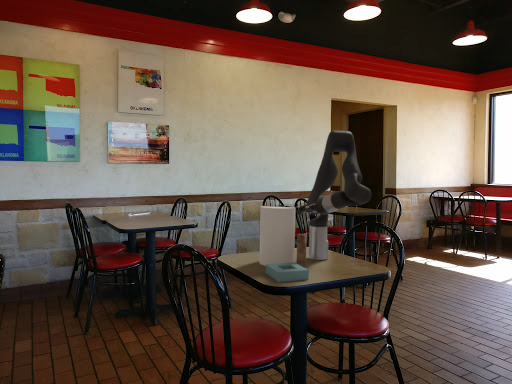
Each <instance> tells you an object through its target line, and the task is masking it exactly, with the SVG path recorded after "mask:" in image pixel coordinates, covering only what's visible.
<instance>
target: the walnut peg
mask: <svg viewBox="0 0 512 384" xmlns="http://www.w3.org/2000/svg"><path fill="white" fill-rule="evenodd" d="M296 235H297V236H296V264H298V265H300V266H302V267H304V268H306V269H307V240H308V239H307V238H308V237H307V233H297V234H296Z"/></svg>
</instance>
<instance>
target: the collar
mask: <svg viewBox="0 0 512 384" xmlns="http://www.w3.org/2000/svg"><path fill="white" fill-rule="evenodd" d="M309 272H310V270H309V268H307V267H306V268H304V267H302V266H300V265H298V264H297V262H294V263H281V264H266V266H265V274H266V275H267V276H269V277H270V278H272V279H273V280H275V281H276V282H278V283H280V282H293V281H304V280H306V281H307V280H310V279H309V278H310V276H309V274H310V273H309Z"/></svg>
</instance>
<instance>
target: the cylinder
mask: <svg viewBox="0 0 512 384" xmlns="http://www.w3.org/2000/svg"><path fill="white" fill-rule="evenodd" d="M259 209H260V211H259V212H260V213H259V216H260V218H259V257H258V258H259V259H258V260H259V261H258V263H259V265H262V266H265V267H266V264H281V263H295V246H296V245H295V243H296V242H295V241H296V240H295V239H296V238H295V237H296V207H295V206H294V207H290V206H289V207H288V206H287V207H286V206H266V205H265V206H264V205H261V206H260V207H259Z"/></svg>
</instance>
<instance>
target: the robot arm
mask: <svg viewBox="0 0 512 384" xmlns="http://www.w3.org/2000/svg"><path fill="white" fill-rule="evenodd" d="M355 143H356V142H355V137H354V135H353V133H352V132H351V131H348V130H331V131H330V132H329V133H328V136H327V139H326V143H325V147H324V150H323V151H324V152H323V156H322V160H321V161H320V165H319V168H318V170H317V174H316V177H315V181H314V184H313V187H312V189H311V191H310V193H309V196H308V197H307V202H306V204H304V205H303V204H302V205H301V206H298V209H297V210H296V214H297V215H302V214H303V215H304V214H305V213H307V214H310V215H311V216H315V215H318V216H317V217H315V218H313V219H312V218H311V219H310V220H309V231H308V233H309V235H308V237H309V239H308V259H310V260H312V261H313V260H315V261H324V260H328V259H329V240H328V224H329V223H328V222H329V214H331V213H334V212H336V211H338V210H340V209H344V208H346V207H355V206H356V207H357V206H362V205H365V204H367V203H368V202H369V201H370V200H371V197H372V195H373V194H372V191H371V189H370V188H368V187H367V186H365V185H363V184H361V183H362V181H363V175H362V172H361V169H360V167H359V163H358V158H357V149H356V144H355ZM335 152H341V153H342V152H343V153H346V154H347V155H346V157H345V159H344V161H343V163H342V166H341V173H342V176H343V179H344V189H342V190H339V191H336V192H333V193H329V194H327V195H322V194H324V193H325V192H326V191H327V190H329V189H330V188H331V187H332V186H333V185H334V184H335V182H336V179H337V177H338V172H339V168H338V167H337V166H338V165H337V164H336V161H335V159H334V157H333V154H334V153H335Z"/></svg>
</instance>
